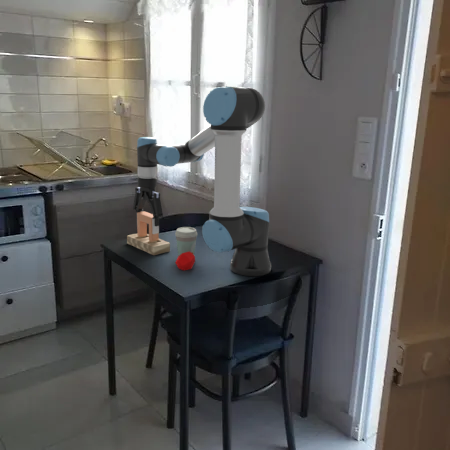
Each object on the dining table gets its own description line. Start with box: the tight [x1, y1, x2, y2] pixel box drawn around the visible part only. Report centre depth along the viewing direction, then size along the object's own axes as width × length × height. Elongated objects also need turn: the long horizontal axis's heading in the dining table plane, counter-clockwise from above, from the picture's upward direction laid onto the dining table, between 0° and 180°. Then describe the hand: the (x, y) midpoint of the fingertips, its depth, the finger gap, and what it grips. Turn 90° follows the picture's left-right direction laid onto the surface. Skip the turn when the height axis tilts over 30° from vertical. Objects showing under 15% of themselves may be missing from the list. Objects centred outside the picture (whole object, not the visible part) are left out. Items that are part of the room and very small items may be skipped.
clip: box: [136, 210, 160, 242], centre depth 197 cm, size 10×4×10 cm, turn 44°
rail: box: [126, 233, 171, 256], centre depth 199 cm, size 19×8×4 cm, turn 44°
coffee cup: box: [174, 226, 198, 257], centre depth 185 cm, size 8×8×12 cm
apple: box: [175, 252, 196, 271], centre depth 177 cm, size 7×7×8 cm
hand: (147, 230), depth 197 cm, fingers closed on clip, 10 cm apart
